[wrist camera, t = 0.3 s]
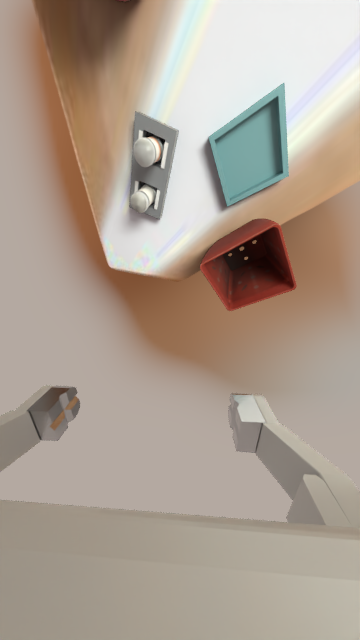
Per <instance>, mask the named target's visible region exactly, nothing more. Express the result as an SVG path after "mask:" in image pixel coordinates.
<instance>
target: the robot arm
mask: <svg viewBox="0 0 360 640" xmlns="http://www.w3.org/2000/svg"><path fill="white" fill-rule="evenodd" d="M76 394H77V390H76V388H75V387H68V386H50V385H46V386H43V387H42V388H40V389H39V390H38V391H37V392H36V393H35V394H33V395H32V396H31V397H30V398H29V399H28V400H27V401H25V402H24V403H23V404H22V405H21V406H20V407H18V408H17V409H16V410H15V411H10V412H7V413H5V414H3V415H1V416H0V472H1V471H2V470H3V469H5V468H6V467H7V466H9V465H10V464H11V463H13V462H14V461H15V460H16V459H18V458H19V457H21V456H22V455H23V454H24V453H26V452H27V451H28V450H30V449H31V448H32V447H34V446H35V445H36V444H38V443H39V442H40V440H52V441H58V440H59V439H60V437H61V436H62V435H63V433H64V431H66V429H67V428H68V422H70V421H72V420H73V419H74V418H75V417H76V415H77V414H78V411H79V408H80V401H79V399H78V398H77V397H76ZM230 402H231V405H230V406H229V410H228V416H229V423H230V427H231V428H232V429H233V440H234V443H235V448H236V451H240V452H251V453H256V455H257V456H258V457H259V458H260V460H261V461H262V463H263V464H264V465H265V466H266V468H267V469H268V470H269V471H270V473H271V474H272V475H273V476H274V478H275V479H276V480H277V481H278V483H279V484H280V485H281V486H282V487H283V489H284V490H285V491H286V492H287V494H288V495H289V496H290V498H291V499H292V500H293V502H292V505H291V507H290V510H289V512H288V515H287V520H288V522H276V521H264V520H250V519H238V518H226V517H213V516H200V515H187V514H175V513H162V512H149V511H137V510H136V511H135V510H124V509H111V508H98V507H85V506H73V505H61V504H60V505H59V504H48V503H35V502H22V501H9V500H0V640H360V491H359V490H358V488H357V487H356V485H355V484H354V483H353V481H352V480H351V479H350V477H349V476H348V475H347V474H345V473H344V472H343V471H341V470H340V469H339V468H338V467H336V466H335V465H334V464H332V463H331V462H330V461H328V460H327V459H326V458H325V457H324V456H322V455H321V454H320V453H318V452H317V451H316V450H315V449H313V448H312V447H311V446H310V445H308V444H307V443H306V442H305V441H303V440H302V439H301V438H300V437H298V436H297V435H296V434H294V433H293V432H292V431H291V430H289V429H288V428H287V427H286V426H284V425H283V424H279V423H278V421H277V419H276V417H275V415H274V414H273V412H272V410H271V408H270V406H269V405H268V403H267V401H266V399H265V397H264V396H263V395H262V394H231V396H230Z"/></svg>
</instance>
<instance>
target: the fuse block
mask: <svg viewBox="0 0 360 640" xmlns="http://www.w3.org/2000/svg"><path fill="white" fill-rule="evenodd" d="M147 131H148V132H150V133H152V134H154V135H156V136H158V137H160V138H163V139H165V144H164V150H163V156H162V163H161V166H160V165H158V164H156V163H153V164H152V165H150V166H149V167H142V166H141V165H139V164H138V162H137V161H136V159H135V156H134V144H135V142H136V141H137V140H138V139H139V138H144V137H147ZM178 132H179V130H176V129H174V128H172V127H170V126H168V125H166V124H164V123H162V122H160V121H158V120H155V119H153V118H151V117H149V116H147V115H145V114H143V113H141V112H137V111H135V123H134V139H133V156H132V173H131V190H130V200H131V196H132V195H133V194H134V193H135V192H136V191H138V190H140V189H141V187H142V182H144V183H146V184H149V185H151V186H153V187H156V188H158V189H157V194H156V200H155V205H153V204H151V205H150V206H149V207H148V209H147V210H146V211H145V212H144V213H145V214H147V215H150V216H152V217H155V218H158V219H160V218H161V216H162V213H163V208H164V203H165V198H166V193H167V188H168V183H169V178H170V173H171V168H172V162H173V157H174V152H175V147H176V142H177V137H178ZM129 207H130V208H132V206H131V202H130V206H129ZM132 209H133V208H132Z"/></svg>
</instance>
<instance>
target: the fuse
mask: <svg viewBox="0 0 360 640" xmlns="http://www.w3.org/2000/svg"><path fill="white" fill-rule="evenodd" d="M156 194H157V190H156V188H155V187H153V186H151V185H149V184H145V185H144V186H143V187H142V188H141V189H140V190H138V191H136V192H135V193H134V194H133V195H132V196H131V200H130V202H131V206H132V208H133V209H134V210H135V211H136V212H138V213H144V212H145V211H146V210H147V209H148V207H149V206H150V205H151V204H152V203H153V202H154V201H155V200H156Z"/></svg>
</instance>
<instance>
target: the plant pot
mask: <svg viewBox="0 0 360 640" xmlns="http://www.w3.org/2000/svg"><path fill="white" fill-rule="evenodd" d="M253 240H257V242H256V244H252V241H253ZM241 246H243V247H244V250H243V251H240V250H239V248H240V247H241ZM229 253H232V256H228V254H229ZM246 256H247V257H248V259H247V260H244V257H246ZM200 270H201V271H202V273H203V274H204V275H205V277H206V278H207V280H208V281H209V283H210V284H211V286H212V287H213V289H214V290H215V292H216V293H217V295H218V296H219V298H220V299H221V301H222V303H223V304H224V306H225V307H226V309H227V310H229V311H233V310H236V309H238V308H241V307H244V306H247V305H250V304H253V303H256V302H259V301H262V300H265V299H268V298H271V297H273V296H277V295H280V294H283V293H286V292H289V291H292V290H294V289H295V288H296V286H297V285H296V281H295V278H294V274H293V271H292V267H291V263H290V260H289V256H288V252H287V249H286V245H285V241H284V237H283V233H282V229H281V226H280V225H279V224H278V223H276V222H274V221H271V220H268V219H255V220H252V221H250V222H248V223H247V224H245V225H243V226H242V227H240V228H238V229H237V230H235V231H233V232H231V233H230V234H228V235H226V236H225V237H223V238H221V239H220V240H218V241H217V242H216V243H214V244H213V245H212V247H211V248H210V249H209V250H208V251H207V253H206V254H205V256H204V258H203V260H202V262H201V264H200Z"/></svg>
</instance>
